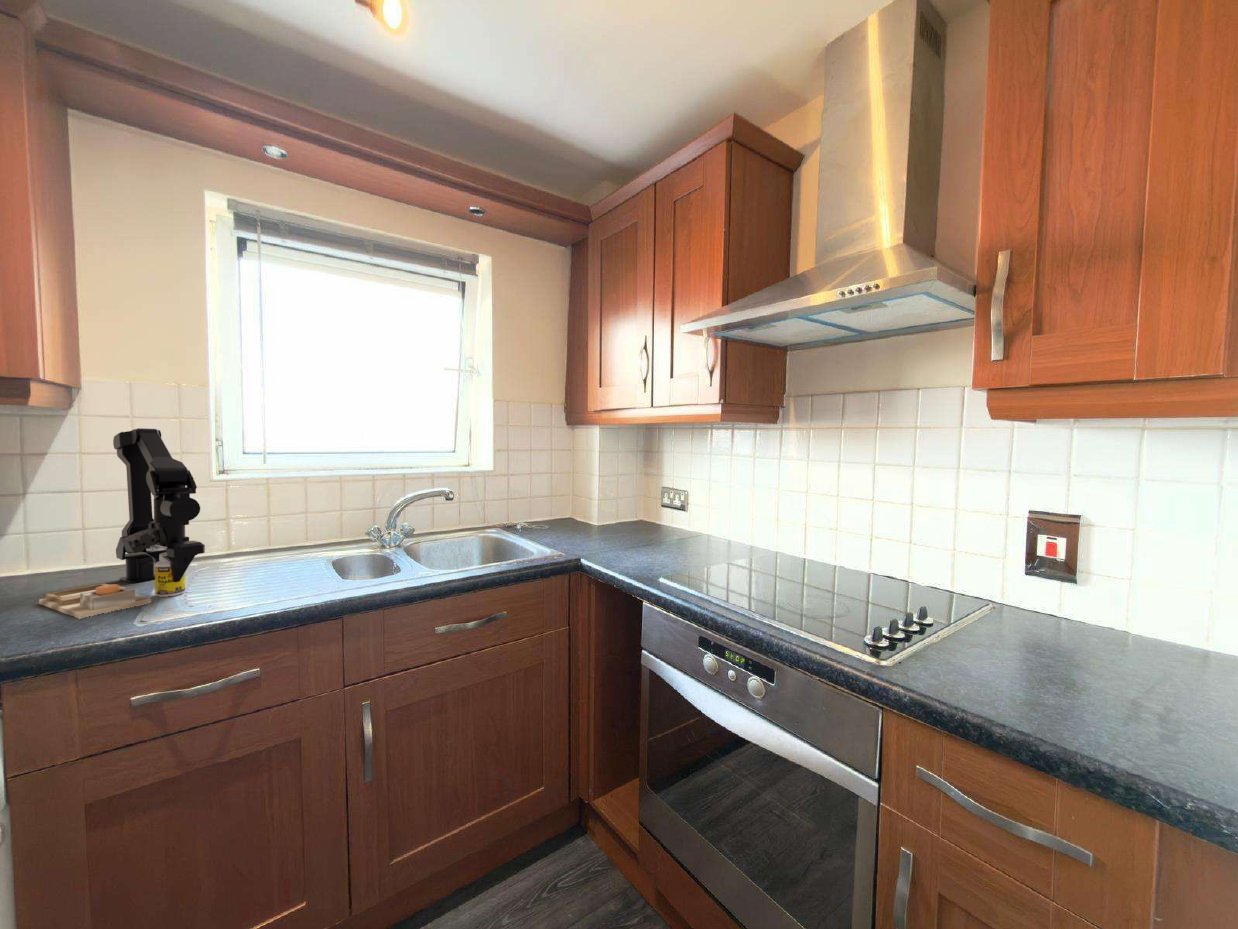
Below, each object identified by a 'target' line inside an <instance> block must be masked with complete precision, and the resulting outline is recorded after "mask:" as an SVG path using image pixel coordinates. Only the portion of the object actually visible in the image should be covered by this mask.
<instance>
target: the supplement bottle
mask: <svg viewBox="0 0 1238 929" xmlns="http://www.w3.org/2000/svg"><path fill="white" fill-rule="evenodd" d="M163 556H168V555H167V553H161V554H160V555H159V562H157V563H156V564H155V579H154V594H155V596H156V597H158V596H159V597H160V598H169V597H168V596H171V597H176V596H179V595H182V594H184V593H185V591H186V572H185V573H184V575H183V577H182V578H181V580H180V581H179V582H174V581H173V577H172V571H171V566H170V562H169V561H168V560H166V559H165V558H163Z"/></svg>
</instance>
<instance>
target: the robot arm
mask: <svg viewBox="0 0 1238 929" xmlns="http://www.w3.org/2000/svg"><path fill="white" fill-rule="evenodd" d="M112 442H113V443H112V444H113V449H114V450H116V456H117V458H119V460H120V461H121V462H123V464H124V466H125V467H126V468H125V469H126V482H127V483H126V485H127V499H128V501H127V502H128V516H129V517H128V518H129V520H128V521H127V523H126V524H125V526H124V527H123V528H122V530H121V536H120V537H119V540H118V542H117V545H116V548H115V555H116V558H117V560H118V559H119V560H121V561H125V576H122V577H119V580H120V579H122V580H121V581H123V580H125V581H124V582H126V581H127V582H126V583H130V582H133V583H137V581H139V582H142V581H141V580H144V581H147V580H146V579H149V580H152V579H151V578H155V564H156V563H157V562H159V555H160V554H161V553H167V555H168V556H163V558H165V559H166V560H168V561H169V562H170V566H171V571H172V577H173V581H174V582H179V581H180V580H181V578H182V577H183V575H184V573H185V574H186V571H187V570H188V568H189V567H190V565H191V563H192V561H193V560H194V558H195V557H197V555H200V554H204V553H206V548H205V547H206V546H205V544H204V543H202V542H201V541H197V540H190V537H189V536H187V535H186V526H188V525H190V521H192V520H194V519H195V518H197V517H198V516H199V514H200V512H201V505H200V503H199V502H198V501H197V500H196V499H195V498H192V497H190V496H191V494H192V495H193V494H194V495H196V493H197V488H198V487H197V484H196V482H195V478H194V477H193V474H192V473H191V471H190V470H189V469H188V467H187V466H186V465H185V464H184V463H183V462H182V461H181V460H178V459H175V458H173V456H172V454H171V453H170V451H169V449H168V448H167V446H166V444H165V442H164V440H163V438H162V432H161V430H160V429H157V428H142V427H140V428H135V429H134V428H133V429H132V430H129V431H120V432H118V433H117V434H115V435H114V436H113V441H112ZM152 496H153V500H152ZM152 501H153V504H152Z"/></svg>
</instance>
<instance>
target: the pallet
mask: <svg viewBox="0 0 1238 929" xmlns="http://www.w3.org/2000/svg"><path fill="white" fill-rule="evenodd" d="M104 585H109V584H107V583H105V582H102V583H99V584H92V585H87V586H82V587H75V588H72V589H71V588H70V589H65V590H59V591H54V592H49V593H48V592H47V593H44V598H41V599H40V598H39V600H38V604H39V605H42V606H45V607H47V608H49V609H52V610H55V611H58V612H59V613H63V614H66V615H68V616H71V617H73V616H74V618H76V619H79V620H81V619H85V617H86V618H90V617H94V615H95V616H98V615H97V614H100V615H102V614H101V613H104V614H108V612H109V613H112V612H111V611H113V612H115V611H114V610H118V609H122V610H126V608H127V609H131V608H135V607H134V606H136V607H140V606H145V605H148V604H147V603H149V604H151V603H152V599H151V598H149V597H145V596H143V595H139V594H136V590H135V589H133V588H128V587H124V586H121V585H120V592H118V593H112V594H107V595H102V596H98V595H96V588H97V587H99V586H104ZM150 602H151V603H150ZM144 604H145V605H144ZM130 607H131V608H130ZM118 611H119V610H118ZM89 616H90V617H89Z"/></svg>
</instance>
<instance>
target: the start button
mask: <svg viewBox="0 0 1238 929" xmlns="http://www.w3.org/2000/svg"><path fill="white" fill-rule="evenodd" d="M120 586H121V585H120V584H116V583H114V584H108V585H104V586H99V587H97V588H96V595H98V596H102V595H107V594H112V593H118V592H120Z"/></svg>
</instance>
